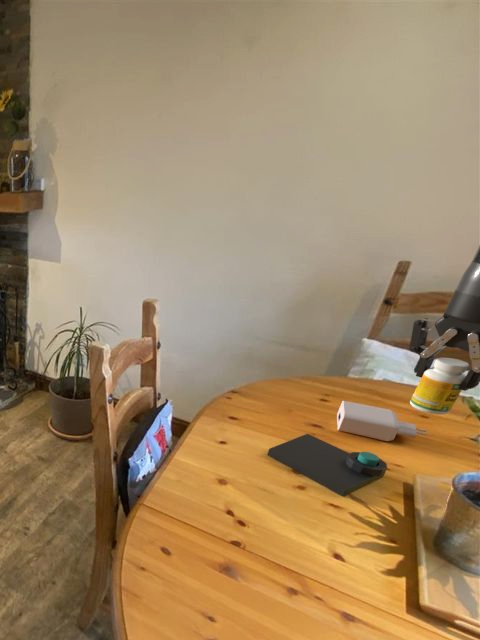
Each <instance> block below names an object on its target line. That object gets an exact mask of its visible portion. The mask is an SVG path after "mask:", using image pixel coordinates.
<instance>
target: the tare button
mask: <svg viewBox="0 0 480 640" xmlns="http://www.w3.org/2000/svg"><path fill="white" fill-rule="evenodd" d="M359 452H360V454H359V456H358V458H357V460H358V461H359V462H361V463H363V464H365V465H369V466H376V465H377V463H378V461H379V458H380V457H379V456H378V455H377V454H375V453H373V452H370V451H359Z"/></svg>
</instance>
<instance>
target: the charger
mask: <svg viewBox="0 0 480 640" xmlns="http://www.w3.org/2000/svg"><path fill="white" fill-rule="evenodd" d="M338 408H339V409H338V410H337V414H336V424H337V425H336V426H337V431H340V432H343V433H349V434H353V435H357V436H362V437H366V438H371V439H375V440H380V441H383V442H390V441H394V440H395V438H396V435H401V436H405V437H411V438H416V436H417V435H422V436H428V435H429V434H428V433H426V432H427V430H426V429H422V428H419V427H418V428H417V427H416V426H417V425H416V424H415V423H411V422H406V421H403V420H402V421H401V420H399V419H398V415H397V413H396V412H394V410H392V409H389V408H388V409H387V408H384V407H377V406H372V405H367V404H362V403H357V402H353V401H349V400H348V401H347V400H342V401H341V404H340V405H339V407H338Z"/></svg>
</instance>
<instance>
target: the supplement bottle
mask: <svg viewBox="0 0 480 640" xmlns="http://www.w3.org/2000/svg"><path fill="white" fill-rule="evenodd" d="M432 366H433V367H430V368H429V369H427V370H426V371H425V372H424V374H423V376H422V377H420V380H419V382H418V384H417V385H416V388H415V390H414V393H413V394H412V396H411V398H410V400H409V404H410V405H411V407H413V408H414V409H416V410H418V411H420V412H424V413H428V414H431V415H432V414H433V415H446V414H449V413H450V412H451V410H452V409H453V407H454V405H455V404H456V401H457V400H458V398H459V396H460V394H461V393H462V390H460V389H459V388H460V386H461V384H462V382H463V380H464V379H465V377H466V375H467V374H465V372H468V369H469V366H470V364H469V363H468V362H467V361H464V360H461V359H458V358H454V357H453V358H452V357H438V358H435V360H434V362H433V363H432Z"/></svg>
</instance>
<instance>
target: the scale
mask: <svg viewBox="0 0 480 640" xmlns="http://www.w3.org/2000/svg"><path fill="white" fill-rule="evenodd" d="M360 452H361V451H352V452H348V451H347V450H345V449H344V450H343V449H341V448H339V447H338V446H335V445H333V444H331V443H329V442H326V441H325V440H322V439H320V438H318V437H316V436H314V435H312V434H309V433H306V434H303V435H300V436H298V437H295V438H293V439H290V440H288V441H286V442H285V441H284V442H282V443H280V444H278V445H275V446H272V447H270V448H269V449H268V451H267V455H266V456H267V457H269V458H272V459H273V460H275V461H276V462H278V463H280V464H282V465H284V466H286V467H288V468H289V469H291V470H293V471H295V472H297V473H299V474H300V475H302V476H304V477H306V478H308V479H310V481H311V480H312V481H313V482H314V483H316V484H319V485H320V486H322V487H324V488H326V489H328V490H329V491H331V492H333V493H334V494H337V495H338V496H340V497H342V498H344V497H346V496H348V495H350V494H352V493H354V492H356V491H358V490H360V489H362V488H365V487H366V486H368V485H370V484H372V483H374V482H377V481H378V480H381V479H382V478H383V477H384V476H385V474H386V472H387V469H388V464H387V463H386V462H385V461H384V460H383V459H382V458H380V457H379V461H378V463H377V465H376V466H369V465H365V464H363V463H361V462H359V461H358V460H357V458H358V456H359V454H360Z"/></svg>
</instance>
